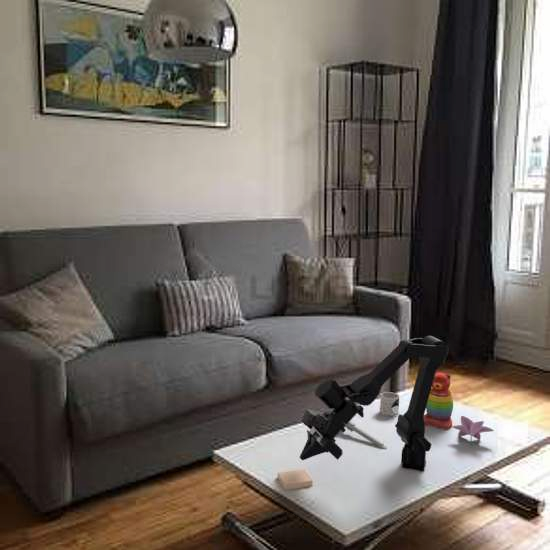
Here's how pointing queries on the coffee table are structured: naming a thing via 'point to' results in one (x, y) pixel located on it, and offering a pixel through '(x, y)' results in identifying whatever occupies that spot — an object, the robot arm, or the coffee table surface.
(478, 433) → the lily
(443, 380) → the stacking bear
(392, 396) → the mug
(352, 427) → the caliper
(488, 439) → the coffee table surface
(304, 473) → the tile
